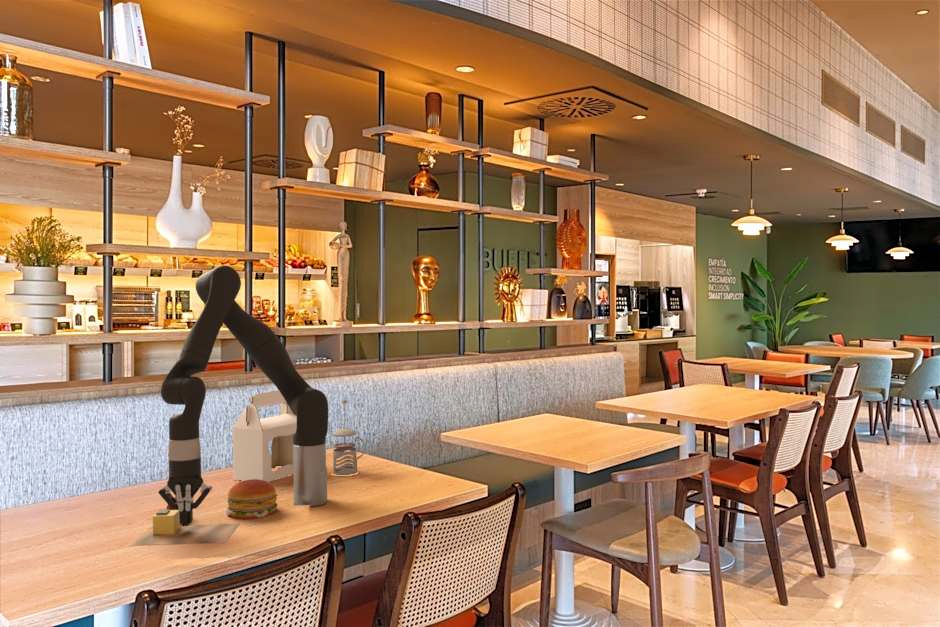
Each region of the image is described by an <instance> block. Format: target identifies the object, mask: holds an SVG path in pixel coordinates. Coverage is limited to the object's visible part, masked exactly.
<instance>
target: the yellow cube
mask: <svg viewBox="0 0 940 627" xmlns="http://www.w3.org/2000/svg"><path fill="white" fill-rule="evenodd" d="M180 525H181V524H180V519H179V510H170V509H159V510H158V511H157V512H156V513H155V514H154V515H153V516H152V526H153V534H174V533H175V532H176V531H177V530H178V529H179V528H180Z"/></svg>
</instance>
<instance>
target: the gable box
mask: <svg viewBox="0 0 940 627" xmlns="http://www.w3.org/2000/svg"><path fill="white" fill-rule="evenodd" d="M248 399H249V401H250V403H249V404H247V405H246V406H245V407H244V408H243V411H242V412H241V414H240V415H239V417H238V418H237V420H236V421H235V423H234V425H233V426H232V471H233V472H232V477H233V478H232V480H233V479H235V480H234V481H237V480H241V481H240V482H242V481H245V480H252V479H258V480H264V481H267V482H269V483H271V482H270V481H273V480H276V479H279V478H282V477H285V476H288V475H291V474H293V435H294V434H295V432H296V428H297V416H296V415H295V414H294V413H293V412H292V411H291V409H290V407H289V406H288V404H287V402H286V401H285V399H284V397H283V396H282V394H281V393H280V391H279V390H275V391H267V392H260V393H256V394H253V395H252V397H249V398H248ZM280 404H282V407H281V408H280V409H281V410H280V414H279V415H278V414H277V415H274V416H269V417H264V418H260V416H259V413H258V409H260V408H265V407H269V406H275V405H280ZM271 441H272V442H271ZM270 442H271V446H270V447H269V445H270ZM270 451H271V452H270ZM276 466H282V467H281V468H279V469H278V470H276V471H272V469H271V468H273V469H274V468H275V467H276ZM288 477H289V476H288ZM285 478H286V477H285ZM282 479H283V478H282ZM279 480H280V479H279ZM276 481H277V480H276ZM273 482H274V481H273Z"/></svg>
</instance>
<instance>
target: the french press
mask: <svg viewBox="0 0 940 627" xmlns="http://www.w3.org/2000/svg"><path fill="white" fill-rule="evenodd" d="M341 404H343V407H344V408H343V412H344V413H343V415H344V416H343V418H344V419H343V421H344V424H343V426H344V427H343V428H339V429H337V430H335V431H334V432H332V435H333V436H334V437H338V438H339V437H344V442H340V443H339V442H338V443H336V444H334V445H333V446H334V449H333V453H332V454H333V456H332V457H333V459H332V460H333V467H332V468H333V470H332V472H331V473H333V474H336V475H350V474H355V473H357V472H358V471H359V470H358V460H359V459H360V458H362V457H363V456H364V454H365V451H366V443H365V442H364V439H362V438H361V437H360V436H356V435H357V434H358V432H357V431H355V429H351V428H347V427H346V404H348V400H347V399H342V400H341ZM353 436H355V441H356V442H357V440H358V439H359V440H360V441H361V442H362V444H363V452H362V454H360V455H359V456H358V457H357V448H356V443H353V442H346V437H353ZM339 458H340V459H339ZM339 462H340V463H339ZM338 466H339V467H338Z"/></svg>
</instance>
